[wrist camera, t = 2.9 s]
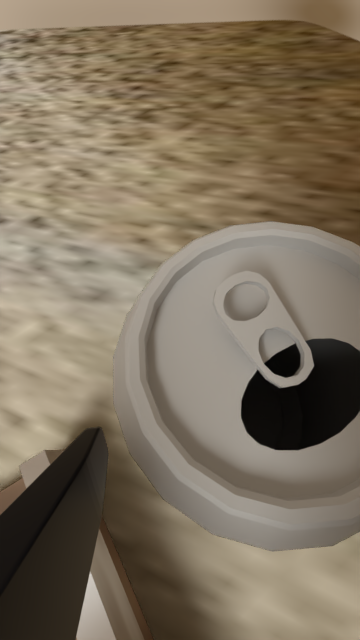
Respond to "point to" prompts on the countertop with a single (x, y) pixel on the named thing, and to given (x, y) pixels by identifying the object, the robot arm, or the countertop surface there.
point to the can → (249, 384)
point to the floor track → (94, 574)
